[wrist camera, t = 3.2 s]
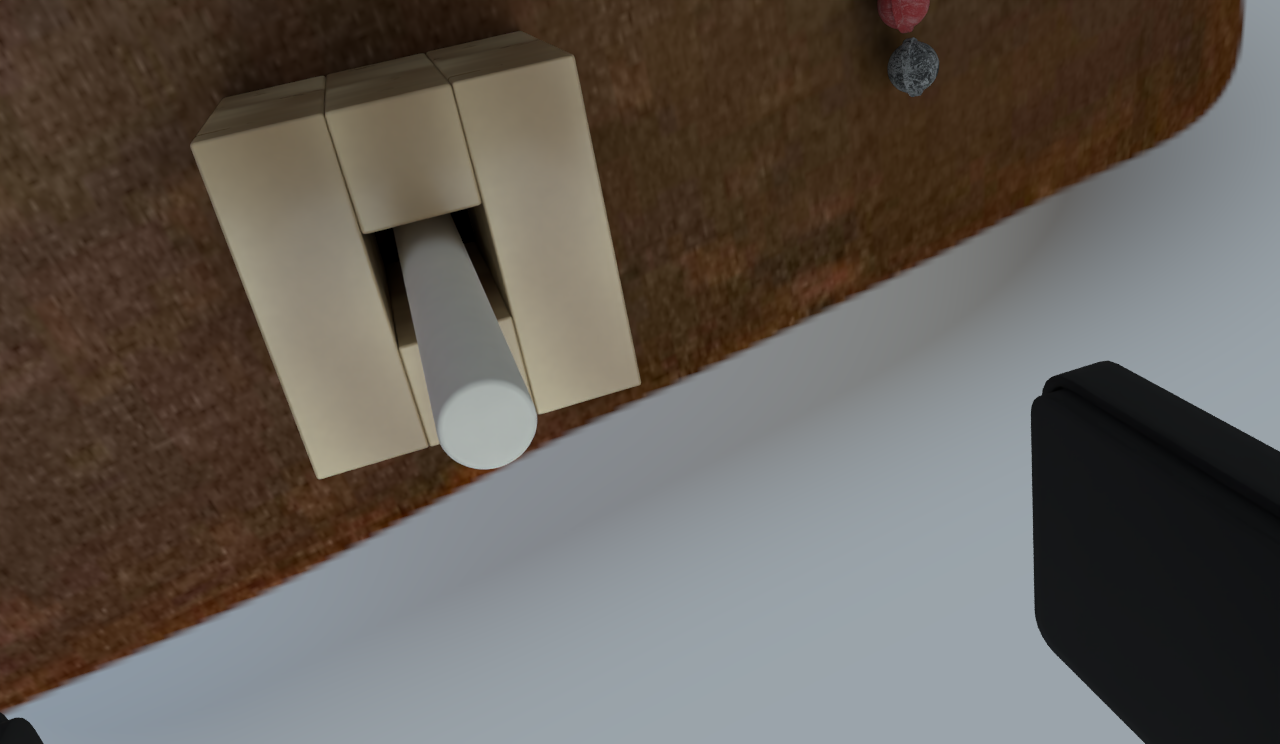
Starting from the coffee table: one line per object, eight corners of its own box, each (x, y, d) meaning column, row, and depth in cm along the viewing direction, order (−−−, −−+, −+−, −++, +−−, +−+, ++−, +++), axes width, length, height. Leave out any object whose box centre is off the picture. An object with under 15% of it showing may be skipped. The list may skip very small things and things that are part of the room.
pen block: (320, 373, 26) (317, 481, 21) (221, 98, 23) (188, 143, 18) (582, 300, 28) (642, 385, 22) (521, 29, 24) (574, 53, 19)
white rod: (398, 241, 26) (452, 484, 14) (382, 187, 25) (425, 397, 13) (451, 227, 26) (548, 454, 14) (437, 174, 25) (525, 367, 14)
